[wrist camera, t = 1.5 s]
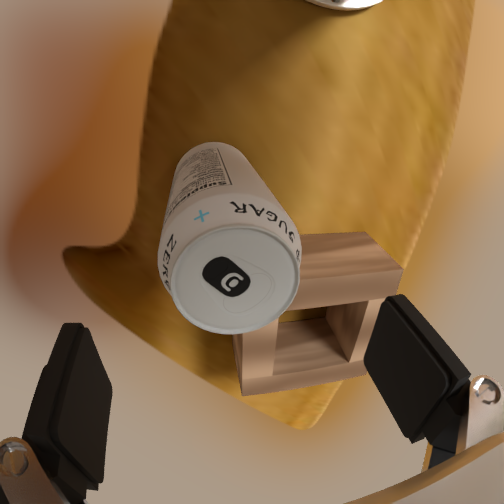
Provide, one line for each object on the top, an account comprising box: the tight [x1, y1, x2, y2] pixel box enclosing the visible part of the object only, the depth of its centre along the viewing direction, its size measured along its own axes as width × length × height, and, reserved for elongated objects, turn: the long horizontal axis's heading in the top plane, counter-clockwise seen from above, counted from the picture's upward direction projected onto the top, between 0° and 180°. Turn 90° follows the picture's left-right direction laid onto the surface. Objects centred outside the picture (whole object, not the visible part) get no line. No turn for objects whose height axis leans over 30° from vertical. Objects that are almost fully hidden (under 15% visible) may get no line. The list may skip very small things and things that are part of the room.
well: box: [232, 232, 404, 396], centre depth 28 cm, size 13×13×7 cm
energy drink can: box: [158, 142, 302, 334], centre depth 18 cm, size 6×6×15 cm
